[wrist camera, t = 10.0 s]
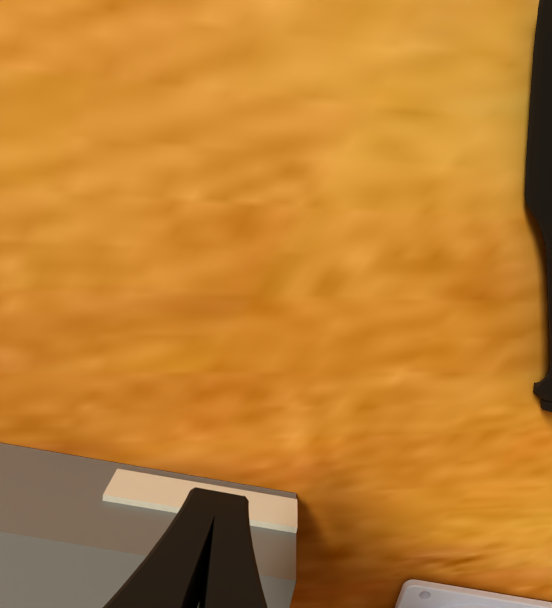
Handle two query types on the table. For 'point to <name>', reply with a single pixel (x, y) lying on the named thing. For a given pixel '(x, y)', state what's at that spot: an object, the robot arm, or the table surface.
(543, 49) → the electric trimmer
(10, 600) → the charging dock
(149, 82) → the table surface
